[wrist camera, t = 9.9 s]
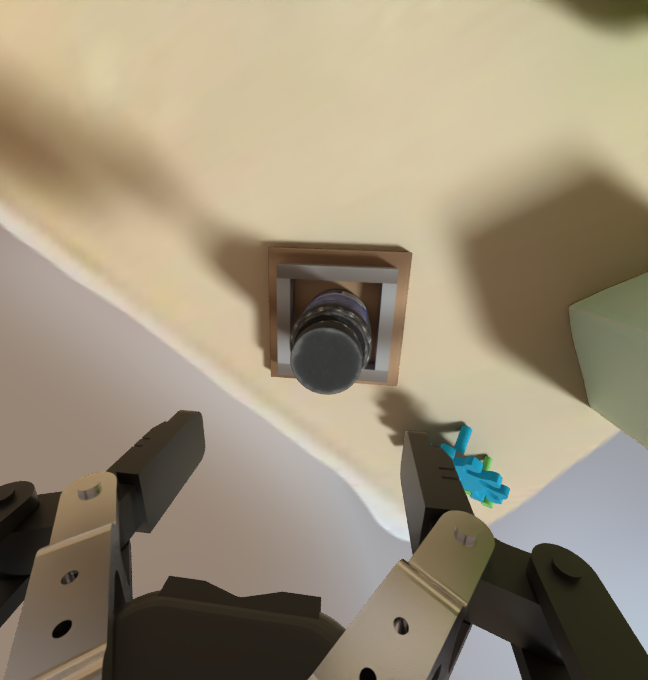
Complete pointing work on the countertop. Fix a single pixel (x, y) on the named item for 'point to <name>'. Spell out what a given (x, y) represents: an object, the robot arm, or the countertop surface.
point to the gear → (476, 473)
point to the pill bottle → (331, 342)
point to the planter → (615, 353)
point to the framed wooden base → (349, 274)
